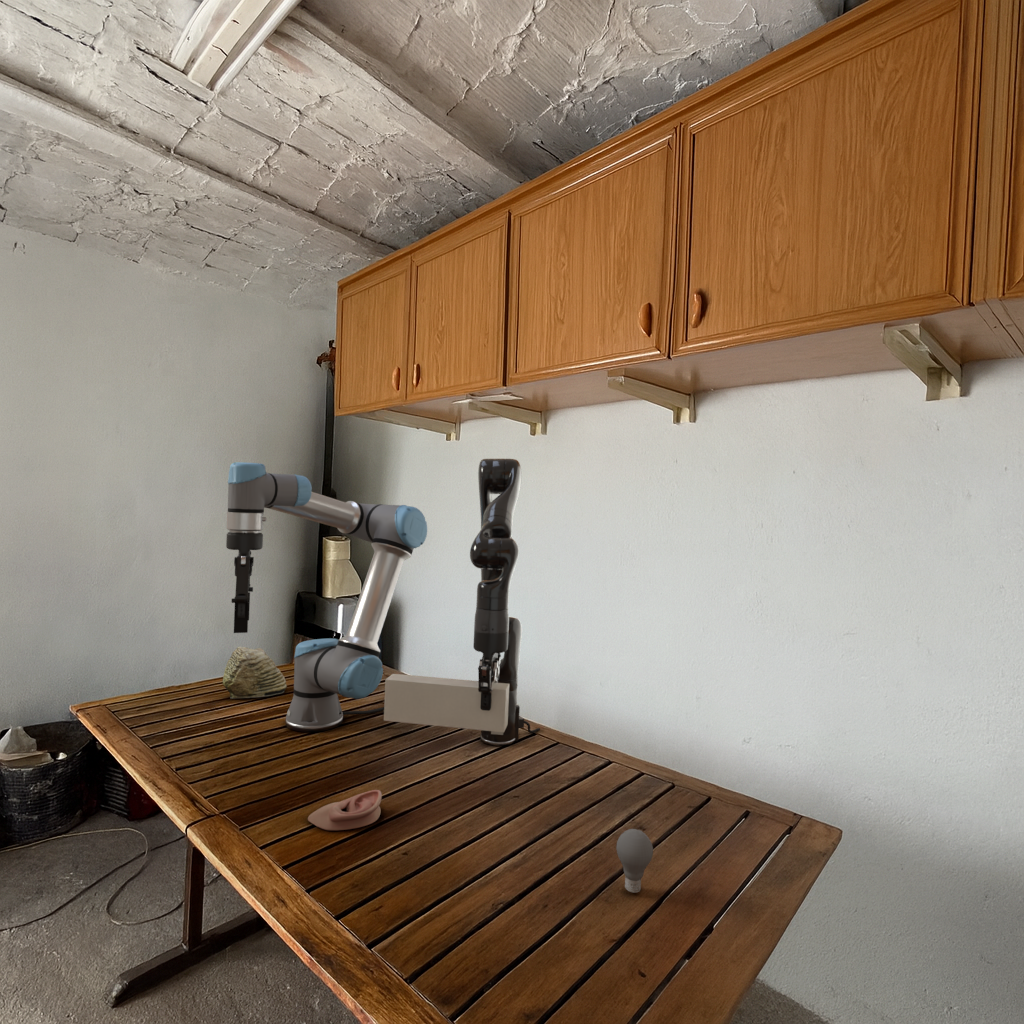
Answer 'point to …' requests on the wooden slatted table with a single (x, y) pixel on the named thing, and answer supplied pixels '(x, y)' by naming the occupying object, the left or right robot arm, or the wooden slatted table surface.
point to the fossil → (252, 674)
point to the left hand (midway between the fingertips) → (241, 626)
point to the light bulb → (634, 857)
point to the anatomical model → (349, 812)
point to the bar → (444, 703)
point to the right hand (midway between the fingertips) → (488, 705)
